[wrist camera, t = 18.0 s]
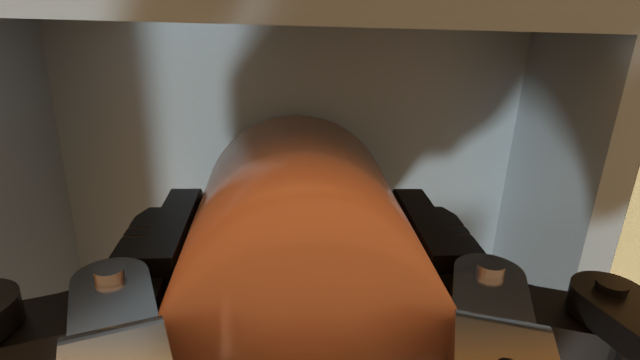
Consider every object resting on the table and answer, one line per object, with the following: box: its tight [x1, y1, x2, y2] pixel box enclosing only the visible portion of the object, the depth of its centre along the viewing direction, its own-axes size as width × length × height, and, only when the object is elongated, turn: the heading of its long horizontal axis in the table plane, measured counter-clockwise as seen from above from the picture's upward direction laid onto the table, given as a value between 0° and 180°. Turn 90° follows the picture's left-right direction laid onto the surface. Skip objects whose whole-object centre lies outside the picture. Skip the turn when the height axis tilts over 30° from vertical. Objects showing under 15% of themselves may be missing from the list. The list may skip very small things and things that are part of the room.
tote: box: [0, 0, 640, 300], centre depth 15 cm, size 15×20×5 cm
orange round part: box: [158, 115, 458, 360], centre depth 11 cm, size 5×5×7 cm
